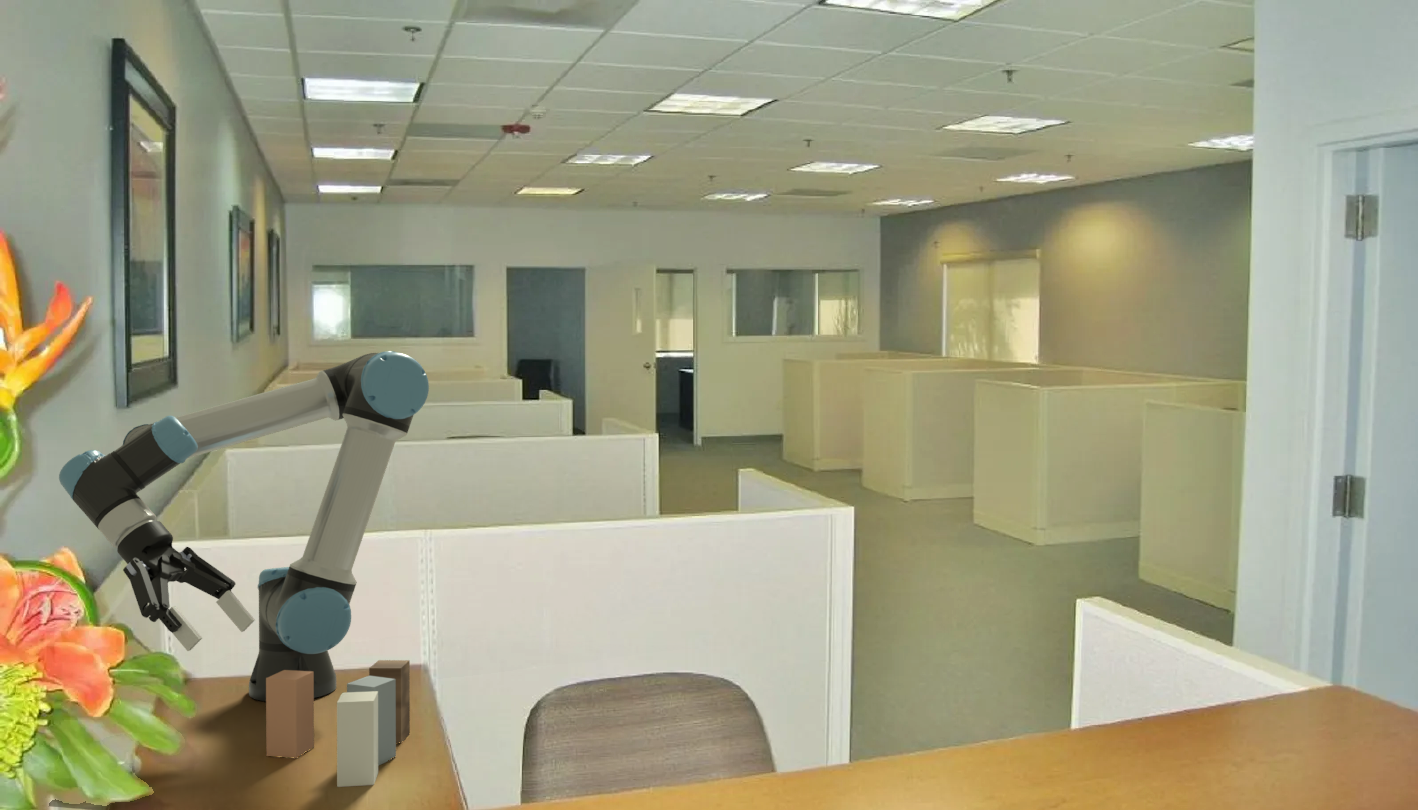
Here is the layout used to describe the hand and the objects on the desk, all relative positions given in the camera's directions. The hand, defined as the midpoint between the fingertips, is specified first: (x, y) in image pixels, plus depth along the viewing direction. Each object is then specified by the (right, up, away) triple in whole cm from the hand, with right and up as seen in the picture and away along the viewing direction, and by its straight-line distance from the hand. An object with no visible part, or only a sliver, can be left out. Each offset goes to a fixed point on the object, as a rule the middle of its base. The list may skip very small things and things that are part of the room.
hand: (222, 635), depth 174 cm
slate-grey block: (+25, -18, -5) cm, 31 cm away
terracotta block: (+11, -18, -1) cm, 21 cm away
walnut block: (+24, -18, +5) cm, 31 cm away
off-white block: (+25, -18, -13) cm, 34 cm away
